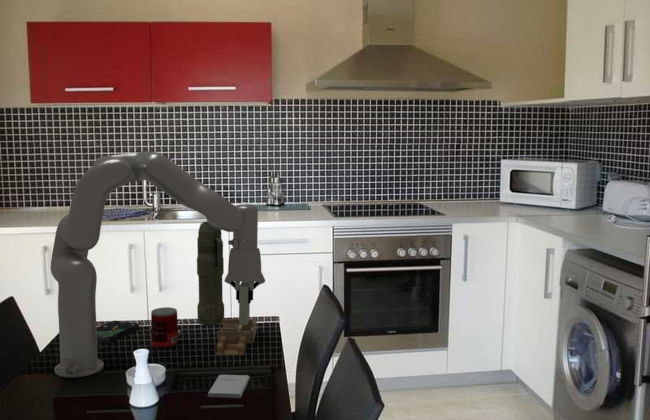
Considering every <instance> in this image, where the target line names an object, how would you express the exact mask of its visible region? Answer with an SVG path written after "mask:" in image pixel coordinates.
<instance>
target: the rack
mask: <svg viewBox="0 0 650 420" xmlns="http://www.w3.org/2000/svg"><path fill="white" fill-rule="evenodd" d="M221 324H222V325H221V326H223V324H236V325H238V330H237V331H222V329H221V330H217V331H216V343H217V344H218V342H219V339H220V337H221V336H226V344H238V343H239V340H240V337H241V336H246V344H254V343H255V338H256V334H257V327H258V326H257V318H249V321H248V324H247V325H239V318H224V319H222V323H221ZM217 344H216V345H217Z"/></svg>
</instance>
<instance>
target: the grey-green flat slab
mask: <svg viewBox="0 0 650 420" xmlns="http://www.w3.org/2000/svg"><path fill="white" fill-rule="evenodd" d="M249 288H250V282H240V287H239V303H238V319H239V325H247V324H248V321H249V319H250V312H251V311H250V308H251V307H250V304H251V303H250V304H249V303H248V291H249Z"/></svg>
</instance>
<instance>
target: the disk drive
mask: <svg viewBox="0 0 650 420" xmlns="http://www.w3.org/2000/svg"><path fill="white" fill-rule="evenodd" d="M139 328H140V323H135V322H127V321H123V322H121V321H119V320H112V321H109V322H107V323H104V324H102V325H99V326H96V329H97V343H98V342H99V343H104V344H105V343H106V344H111V343H114V342H116V341H118V340H121V339H124V338H125V337H127V336H129V335H132V334H134V333H136V332H138V331H139V330H140V329H139Z"/></svg>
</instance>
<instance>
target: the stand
mask: <svg viewBox="0 0 650 420" xmlns="http://www.w3.org/2000/svg"><path fill="white" fill-rule="evenodd" d="M246 348H247V343H246V336H241V337H240V340H239V343H226V336H221V337H220V339H219V342H218V344H216V354H215V356H244V355H245V351H246Z"/></svg>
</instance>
